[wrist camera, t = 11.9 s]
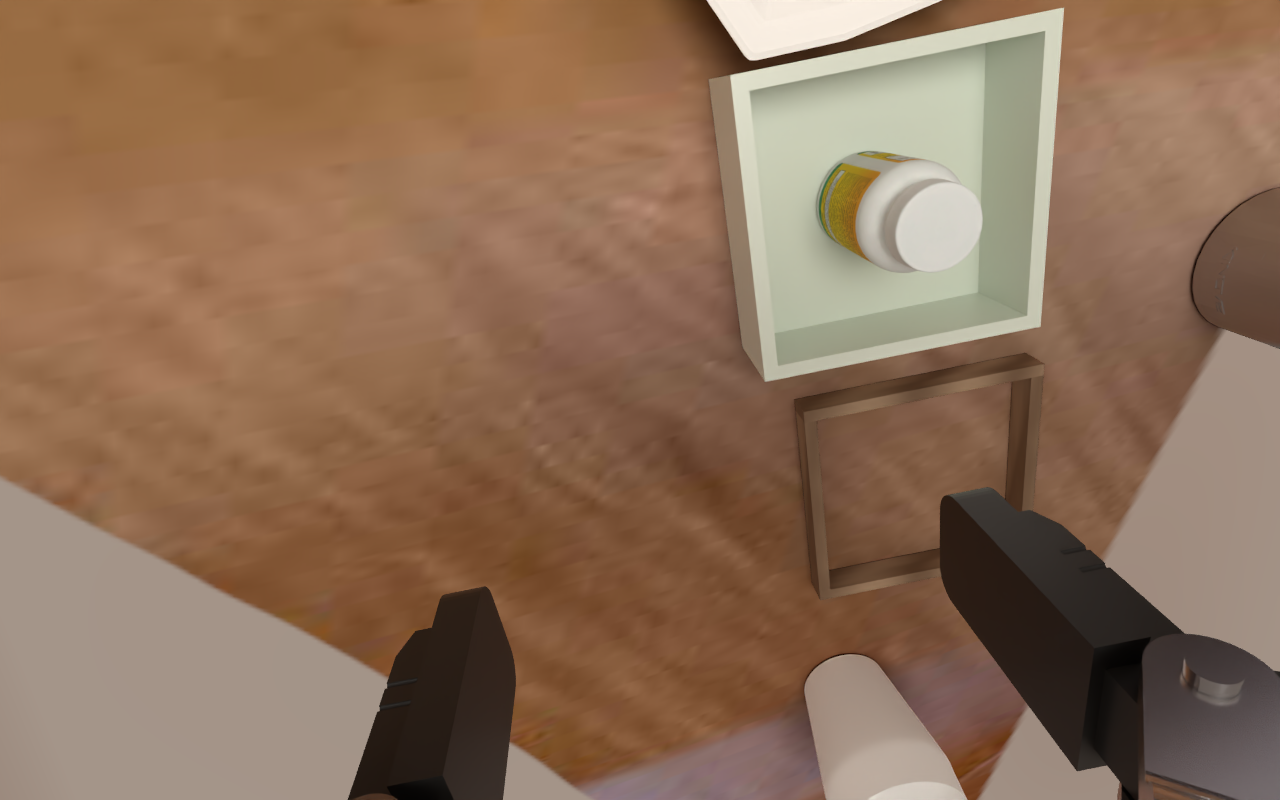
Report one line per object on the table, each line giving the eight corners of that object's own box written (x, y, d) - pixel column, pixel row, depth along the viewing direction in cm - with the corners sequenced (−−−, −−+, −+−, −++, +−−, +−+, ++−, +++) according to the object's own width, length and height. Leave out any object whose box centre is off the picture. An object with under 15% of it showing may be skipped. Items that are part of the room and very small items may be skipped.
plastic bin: (993, 21, 36) (1064, 7, 30) (983, 298, 42) (1040, 326, 37) (708, 79, 36) (730, 75, 31) (742, 347, 42) (765, 382, 37)
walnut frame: (1025, 353, 44) (1044, 363, 42) (1013, 542, 51) (1029, 558, 49) (794, 399, 44) (803, 412, 42) (811, 582, 51) (820, 600, 49)
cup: (900, 706, 57) (976, 849, 46) (798, 732, 57) (849, 880, 46) (890, 629, 53) (970, 765, 42) (781, 657, 54) (831, 800, 43)
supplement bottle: (887, 131, 37) (982, 140, 28) (917, 218, 39) (1014, 251, 30) (799, 181, 38) (865, 203, 29) (833, 263, 40) (904, 308, 31)
